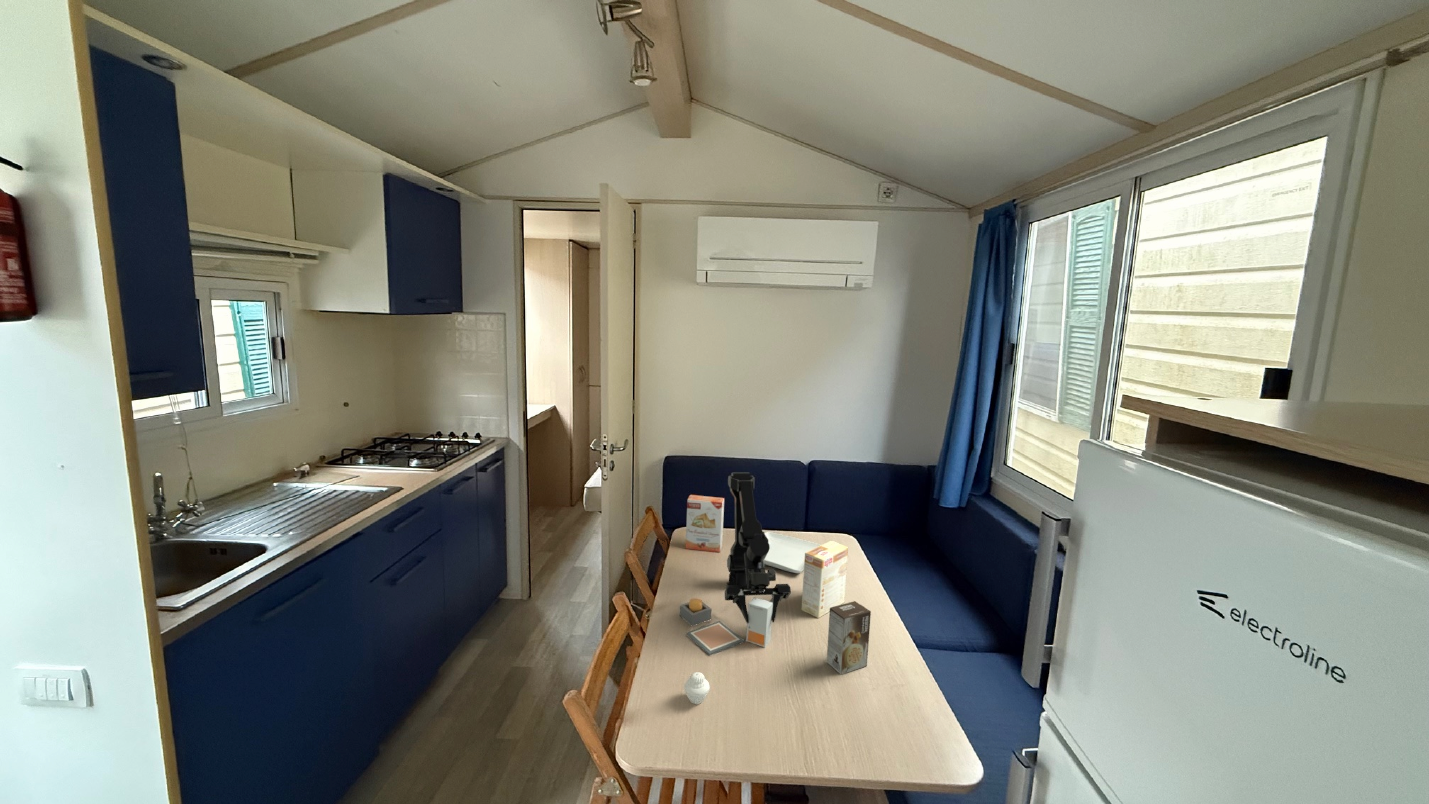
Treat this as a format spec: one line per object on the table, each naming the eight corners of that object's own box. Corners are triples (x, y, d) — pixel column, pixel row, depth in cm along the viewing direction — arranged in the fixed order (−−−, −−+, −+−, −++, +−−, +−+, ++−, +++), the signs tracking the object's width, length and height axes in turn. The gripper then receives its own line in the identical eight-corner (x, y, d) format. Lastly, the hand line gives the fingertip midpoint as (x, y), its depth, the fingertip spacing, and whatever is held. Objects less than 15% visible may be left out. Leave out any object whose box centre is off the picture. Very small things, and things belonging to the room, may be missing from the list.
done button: (697, 606, 174) (697, 597, 173) (704, 612, 171) (704, 602, 170) (686, 609, 171) (686, 600, 171) (693, 615, 168) (693, 606, 168)
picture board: (719, 622, 169) (719, 620, 169) (744, 642, 159) (744, 639, 159) (686, 634, 162) (686, 632, 162) (709, 655, 153) (709, 653, 152)
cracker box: (685, 549, 220) (686, 498, 217) (688, 543, 226) (689, 493, 223) (720, 553, 218) (722, 502, 215) (722, 547, 224) (724, 497, 221)
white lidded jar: (695, 688, 139) (696, 662, 138) (714, 699, 135) (715, 672, 134) (678, 700, 134) (679, 674, 133) (697, 712, 131) (698, 685, 130)
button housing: (698, 609, 176) (698, 599, 176) (711, 619, 171) (711, 608, 170) (679, 615, 172) (679, 605, 172) (691, 626, 167) (692, 615, 166)
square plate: (828, 554, 222) (828, 545, 221) (800, 580, 199) (801, 570, 198) (767, 538, 236) (767, 529, 235) (734, 561, 213) (735, 551, 212)
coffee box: (851, 653, 156) (855, 599, 153) (867, 666, 150) (872, 611, 148) (825, 661, 152) (829, 607, 149) (840, 675, 146) (845, 618, 144)
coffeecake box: (827, 594, 189) (830, 539, 186) (845, 602, 184) (849, 546, 181) (800, 609, 178) (803, 552, 175) (818, 619, 173) (822, 559, 170)
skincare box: (745, 641, 160) (747, 603, 158) (751, 634, 163) (753, 596, 161) (765, 648, 157) (767, 608, 155) (771, 640, 161) (773, 602, 159)
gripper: (727, 559, 159) (731, 615, 150) (791, 558, 161) (799, 613, 152) (722, 572, 168) (726, 626, 159) (783, 571, 170) (790, 624, 161)
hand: (760, 622), depth 158 cm, fingers closed on skincare box, 7 cm apart
